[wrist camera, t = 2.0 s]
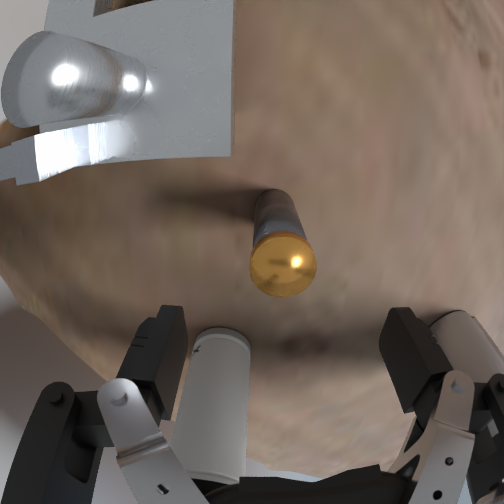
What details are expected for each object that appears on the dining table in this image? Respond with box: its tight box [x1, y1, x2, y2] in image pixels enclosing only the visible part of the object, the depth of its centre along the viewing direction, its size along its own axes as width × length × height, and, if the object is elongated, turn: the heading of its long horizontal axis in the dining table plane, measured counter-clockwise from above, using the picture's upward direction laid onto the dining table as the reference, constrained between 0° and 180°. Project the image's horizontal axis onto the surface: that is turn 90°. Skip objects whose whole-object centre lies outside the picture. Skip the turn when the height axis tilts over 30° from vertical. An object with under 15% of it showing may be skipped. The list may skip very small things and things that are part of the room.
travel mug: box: [170, 327, 251, 496], centre depth 22 cm, size 6×7×20 cm
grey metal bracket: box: [0, 0, 236, 185], centre depth 11 cm, size 22×16×14 cm
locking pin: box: [250, 189, 317, 297], centre depth 19 cm, size 3×3×10 cm
